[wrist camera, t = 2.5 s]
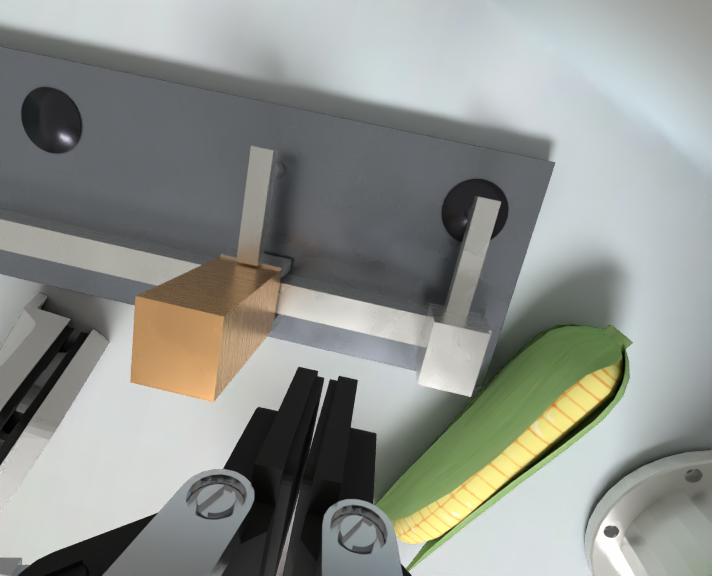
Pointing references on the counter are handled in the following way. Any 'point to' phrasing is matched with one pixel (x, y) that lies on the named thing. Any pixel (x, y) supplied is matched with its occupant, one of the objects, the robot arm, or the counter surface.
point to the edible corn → (509, 431)
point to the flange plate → (228, 183)
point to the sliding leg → (214, 304)
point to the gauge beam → (302, 290)
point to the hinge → (38, 386)
